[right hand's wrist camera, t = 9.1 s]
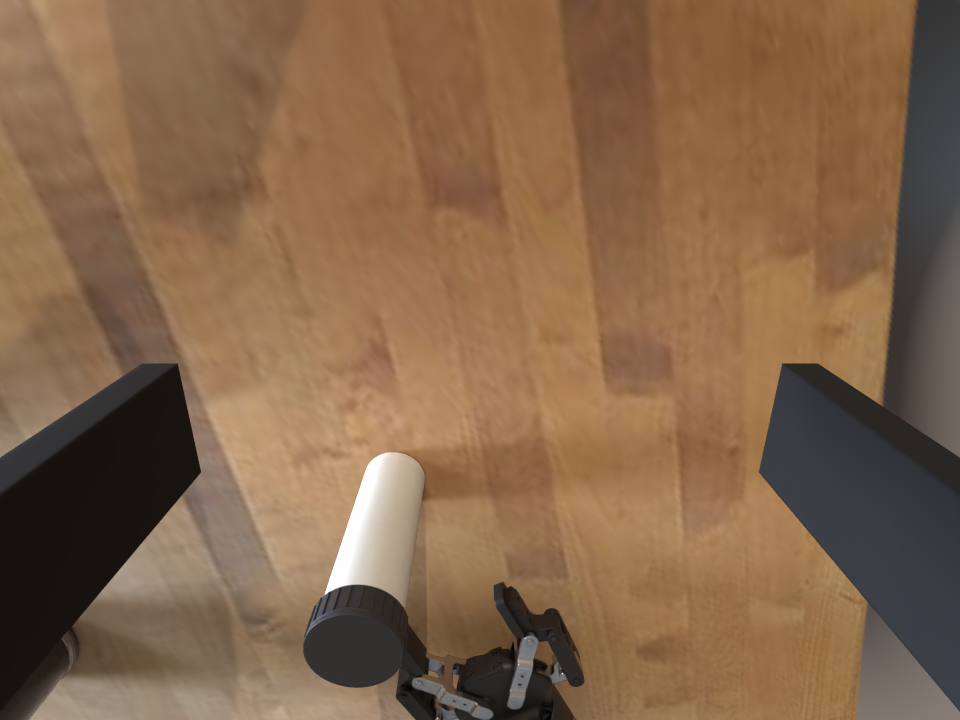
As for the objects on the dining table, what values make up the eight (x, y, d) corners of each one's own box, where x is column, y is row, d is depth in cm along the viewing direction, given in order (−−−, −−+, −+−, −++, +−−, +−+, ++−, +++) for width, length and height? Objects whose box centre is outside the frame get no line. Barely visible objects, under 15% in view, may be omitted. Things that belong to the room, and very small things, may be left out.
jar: (355, 462, 44) (294, 625, 29) (411, 444, 43) (377, 601, 29) (380, 509, 45) (334, 685, 31) (433, 492, 45) (413, 664, 30)
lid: (295, 598, 31) (283, 629, 29) (385, 571, 30) (379, 601, 28) (338, 665, 33) (329, 698, 31) (424, 641, 32) (420, 674, 30)
